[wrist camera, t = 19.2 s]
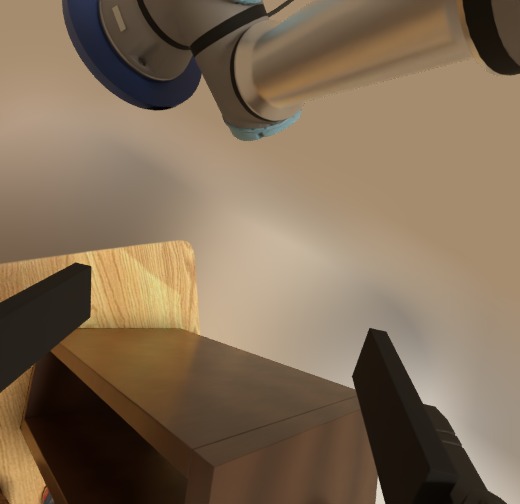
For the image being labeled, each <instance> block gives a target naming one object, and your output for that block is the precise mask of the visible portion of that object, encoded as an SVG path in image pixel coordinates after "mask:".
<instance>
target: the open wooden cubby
mask: <svg viewBox="0 0 520 504" xmlns="http://www.w3.org/2000/svg"><path fill="white" fill-rule="evenodd" d="M20 430H21V432H22V434H23V436H24V438H25V440H26V442H27V444H28V447H29V449H30V451H31V453H32V455H33V457H34V460H35V462H36V464H37V466H38V468H39V470H40V473H41V475H42V477H43V479H44V481H45V483H46V486H47V488H48V490H49V492H50V494H51V496H52V499H53V501H54V503H55V504H375V501H376V500H375V499H376V489H377V478H378V474H377V470H376V466H375V462H374V458H373V455H372V451H371V447H370V443H369V439H368V435H367V432H366V428H365V424H364V420H363V416H362V412H361V409H360V405H359V401H358V397H357V393H356V390H355V389H352V388H349V387H346V386H343V385H340V384H338V383H335V382H332V381H329V380H326V379H323V378H320V377H318V376H315V375H312V374H309V373H306V372H303V371H300V370H298V369H295V368H292V367H289V366H286V365H283V364H280V363H277V362H274V361H272V360H269V359H266V358H263V357H260V356H257V355H255V354H252V353H249V352H246V351H243V350H240V349H237V348H234V347H232V346H229V345H226V344H223V343H220V342H217V341H215V340H211V339H209V338H206V337H203V336H200V335H197V334H195V333H192V332H189V331H186V330H183V329H125V328H77V329H75V330H74V331H73V332H72V333H71V334H69V335H68V336H67V337H66V338H65V339H64V340H62V341H61V342H60V343H59V344H58V345H56V346H55V347H54V348H53V349H52V350H50V351H49V352H48V353H47V354H46V355H44V356H43V357H42V358H41V359H40V360H39V361H37V362H36V363H35V364H34V365H33V369H32V374H31V379H30V383H29V388H28V393H27V398H26V402H25V407H24V412H23V417H22V421H21V426H20Z"/></svg>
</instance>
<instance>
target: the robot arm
mask: <svg viewBox="0 0 520 504" xmlns="http://www.w3.org/2000/svg"><path fill="white" fill-rule="evenodd" d="M292 1H294V0H288V1H286V2H284V3H283V4H282V5H280V6H279V7H278V8H276V9H274V10H273V11H271V12H270V13H266V10H265V7H264V5H263V2H262V0H97V17H98V22H99V26H100V29H101V32H102V34H103V36H104V38H105V40H106V42H107V44H108V46H109V47H110V49H111V50H112V52H113V53H114V54H115V56H116V57H117V58H118V59H119V60H120V62H121V63H122V64H123V65H124V66H125V67H127V68H128V69H129V70H130V71H132V72H133V73H134V74H136V75H138V76H139V77H141V78H143V79H146V80H148V81H151V82H157V83H164V82H169V81H171V80H173V79H175V78H176V77H178V76H179V75H180V74H182V73H183V71H184V70H185V69H186V67H187V66H188V64H189V61H190V59H191V57H192V55H193V56H194V58H195V60H196V62H197V64H198V66H199V68H200V70H201V72H202V74H203V77H204V79H205V81H206V83H207V85H208V87H209V89H210V91H211V93H212V95H213V97H214V99H215V101H216V103H217V105H218V107H219V109H220V111H221V113H222V117H223V120H224V122H225V123H226V125H227V126H228V127H229V128H230V130H231V132H232V134H233V135H234V136H235V137H236V138H237V139H240V140H243V141H253V140H258V139H260V138H262V137H268V136H271V135H273V134H276V133H278V132H280V131H282V130H284V129H286V128H287V127H289V126H290V125H292V124H293V123H294V122H295V121H296V120H297V119H298V118H299V117H300V114H301V108H302V107H303V105H304V104H305V102H307V101H311V100H314V99H318V98H322V97H326V96H330V95H333V94H338V93H342V92H345V91H349V90H353V89H357V88H360V87H365V86H369V85H372V84H376V83H380V82H384V81H388V80H392V79H396V78H399V77H403V76H407V75H411V74H415V73H419V72H422V71H426V70H430V69H434V68H438V67H442V66H445V65H450V64H453V63H457V62H461V61H465V60H469V59H473V58H474V59H475V60H476V61H477V62H478V64H479V65H480V66H481V67H482V68H484V69H485V70H486V71H487V72H489V73H491V74H493V75H497V76H511V75H516V74H520V0H313V1H312V2H310V3H309V4H307V5H306V6H304V7H303V8H302V9H300V10H299V11H297V12H296V13H294V14H293V15H292V16H290V17H289V18H287V19H286V20H284V21H283V22H280V21H276V20H269V17H270V16H272V15H274V14H275V13H277V12H279V11H280V10H281V9H283V8H284V7H285V6H287V5H288V4H289V3H291V2H292ZM90 311H91V266H88V265H84V264H79V263H74V264H72V265H70V266H68V267H66V268H64V269H63V270H61V271H59V272H57V273H55V274H53V275H51V276H49V277H48V278H46V279H44V280H42V281H40V282H38V283H36V284H34V285H32V286H31V287H29V288H27V289H25V290H23V291H21V292H19V293H17V294H16V295H14V296H12V297H10V298H8V299H6V300H4V301H2V302H0V392H2V391H3V390H4V389H5V388H6V387H8V386H9V385H10V384H11V383H12V382H14V381H15V380H16V379H17V378H18V377H19V376H21V375H22V374H23V373H24V372H25V371H27V370H28V369H29V368H30V367H31V366H33V365H34V364H35V363H36V362H37V361H39V360H40V359H41V358H42V357H43V356H44V355H46V354H47V353H48V352H49V351H50V350H52V349H53V348H54V347H55V346H56V345H58V344H59V343H60V342H61V341H62V340H64V339H65V338H66V337H67V336H68V335H69V334H71V333H72V332H73V331H74V330H75V329H77V328H78V327H79V326H80V325H81V324H83V323H84V322H85V321H86V320H87V319H89V318H90ZM352 378H353V382H354V386H355V389H356V393H357V397H358V401H359V405H360V409H361V412H362V416H363V420H364V424H365V428H366V432H367V435H368V439H369V443H370V447H371V451H372V455H373V458H374V462H375V466H376V470H377V474H378V477H379V481H380V485H381V489H382V493H383V496H384V501H385V504H507V503H506V502H504V501H503V500H502V499H501V498H499V497H498V496H496V495H494V494H493V493H491V492H489V491H488V490H487V489H486V487H485V485H484V483H483V481H482V480H481V478H480V476H479V474H478V473H477V471H476V469H475V467H474V466H473V464H472V462H471V460H470V459H469V457H468V455H467V453H466V451H465V450H464V448H462V444H461V443H460V441H459V439H458V438H457V436H455V432H454V430H453V429H452V427H451V425H450V424H449V422H448V420H447V419H446V418H445V417H444V416H443V415H442V414H441V413H440V411H439V410H438V409H437V408H436V407H434V406H430V405H426V404H423V403H422V401H421V399H420V397H419V395H418V393H417V391H416V389H415V387H414V385H413V383H412V381H411V379H410V378H409V375H408V374H407V371H406V370H405V367H404V366H403V364H402V362H401V360H400V358H399V356H398V354H397V352H396V350H395V348H394V346H393V344H392V342H391V340H390V338H389V336H388V334H387V332H385V331H381V330H376V329H372V328H369V331H368V334H367V336H366V339H365V342H364V345H363V348H362V350H361V353H360V356H359V359H358V361H357V365H356V367H355V370H354V373H353V375H352Z"/></svg>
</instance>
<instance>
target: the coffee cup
mask: <svg viewBox="0 0 520 504" xmlns="http://www.w3.org/2000/svg"><path fill="white" fill-rule="evenodd" d="M0 504H9V502H8V500H7V499H6V497H4V496H3V494H2V492H1V490H0Z"/></svg>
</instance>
